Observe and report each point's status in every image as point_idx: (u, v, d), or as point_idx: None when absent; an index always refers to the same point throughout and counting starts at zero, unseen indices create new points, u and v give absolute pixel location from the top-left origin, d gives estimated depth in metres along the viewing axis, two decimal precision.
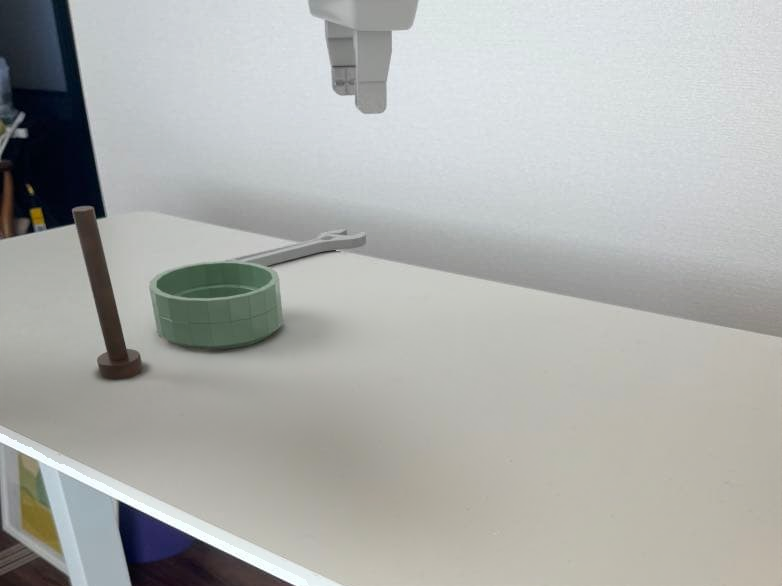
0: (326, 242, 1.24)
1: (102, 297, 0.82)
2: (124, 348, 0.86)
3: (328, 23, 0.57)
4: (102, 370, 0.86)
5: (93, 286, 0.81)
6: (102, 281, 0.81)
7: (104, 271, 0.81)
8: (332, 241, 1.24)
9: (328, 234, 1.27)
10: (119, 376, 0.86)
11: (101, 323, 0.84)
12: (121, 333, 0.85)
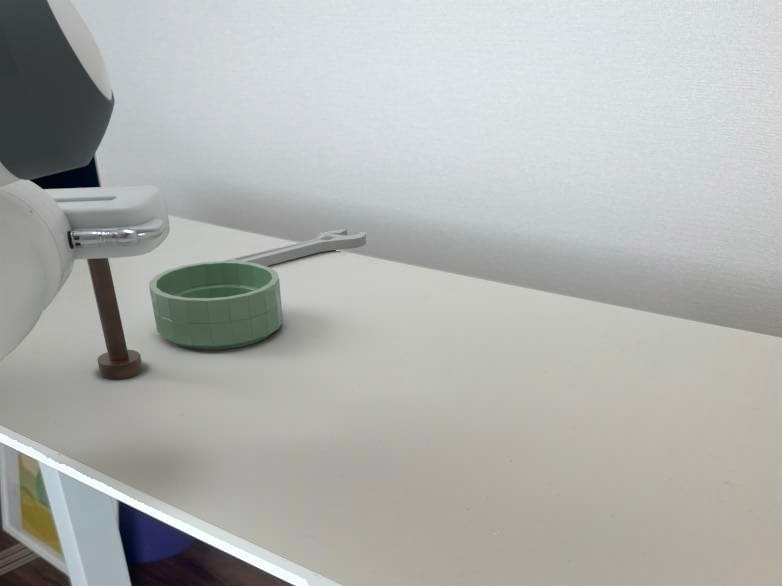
0: (326, 242, 1.24)
1: (104, 297, 0.82)
2: (125, 348, 0.86)
3: None
4: (102, 370, 0.86)
5: (95, 286, 0.82)
6: (104, 281, 0.81)
7: (107, 271, 0.81)
8: (332, 241, 1.24)
9: (328, 234, 1.27)
10: (119, 376, 0.86)
11: (102, 323, 0.84)
12: (122, 333, 0.85)
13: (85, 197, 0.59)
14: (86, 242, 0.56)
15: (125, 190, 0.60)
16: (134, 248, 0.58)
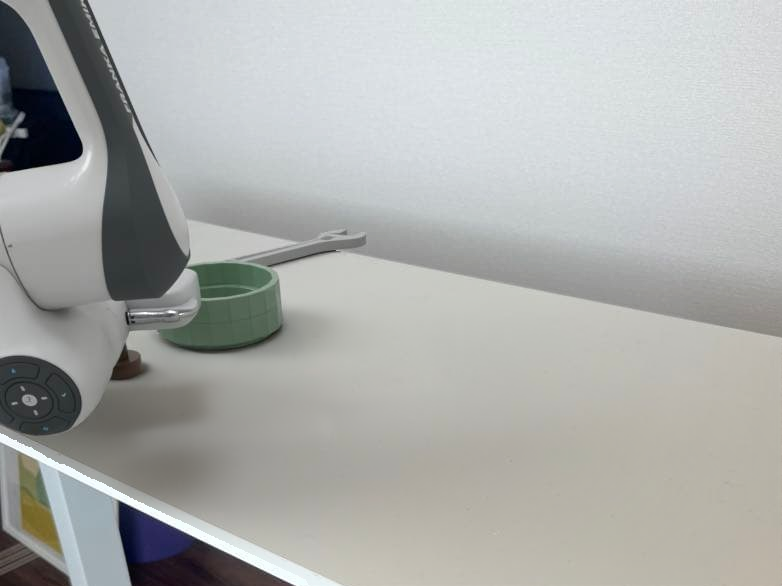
0: (326, 242, 1.24)
1: None
2: (125, 348, 0.86)
3: None
4: None
5: None
6: None
7: None
8: (332, 241, 1.24)
9: (328, 234, 1.27)
10: (119, 376, 0.86)
11: None
12: None
13: None
14: (139, 320, 0.72)
15: None
16: (175, 323, 0.74)
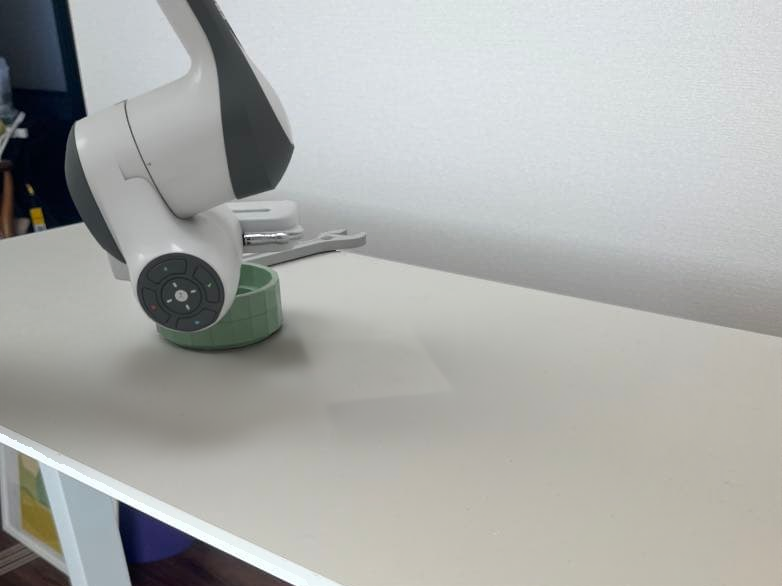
0: (326, 242, 1.24)
1: None
2: None
3: None
4: None
5: None
6: None
7: None
8: (332, 241, 1.24)
9: (328, 234, 1.27)
10: None
11: None
12: None
13: (247, 209, 0.83)
14: (254, 241, 0.80)
15: (273, 204, 0.85)
16: (283, 246, 0.82)
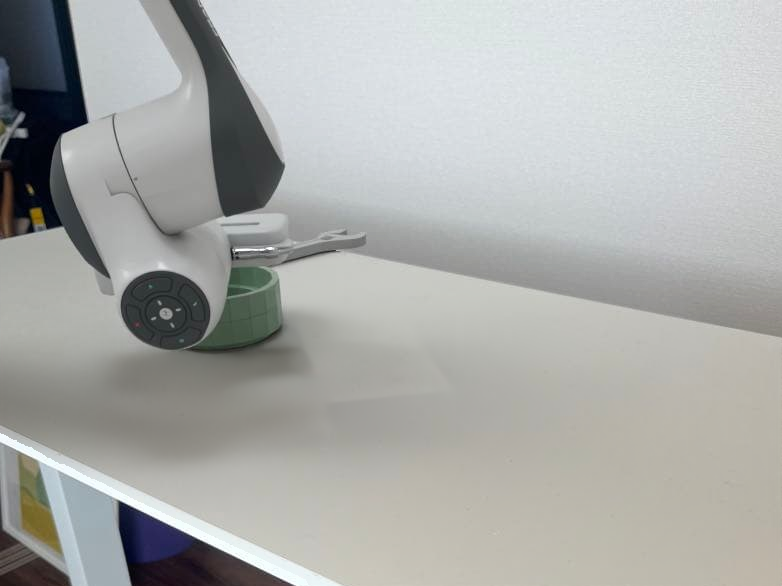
0: (326, 242, 1.24)
1: None
2: None
3: None
4: None
5: None
6: None
7: None
8: (332, 241, 1.24)
9: (328, 234, 1.27)
10: None
11: None
12: None
13: (236, 223, 0.82)
14: (243, 256, 0.79)
15: (263, 217, 0.84)
16: (273, 260, 0.81)
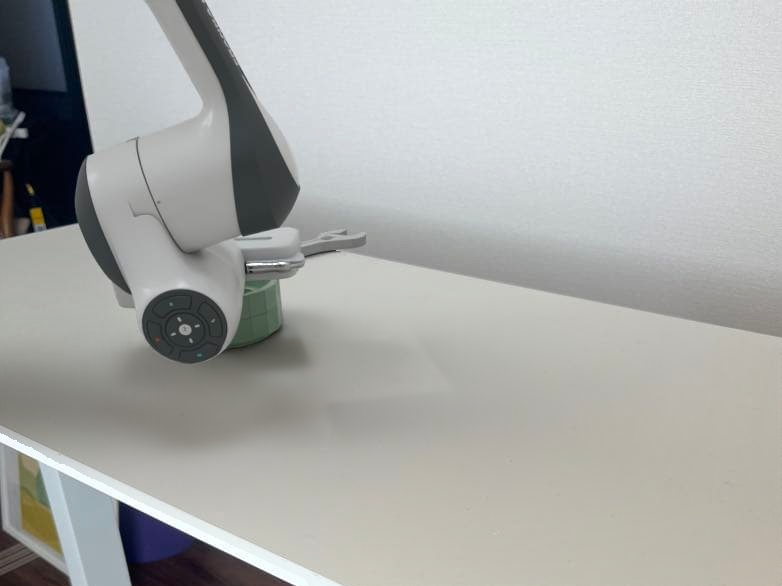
0: (326, 242, 1.24)
1: None
2: None
3: None
4: None
5: None
6: None
7: None
8: (332, 241, 1.24)
9: (328, 234, 1.27)
10: None
11: None
12: None
13: (249, 237, 0.85)
14: (256, 270, 0.82)
15: (274, 231, 0.86)
16: (285, 273, 0.84)
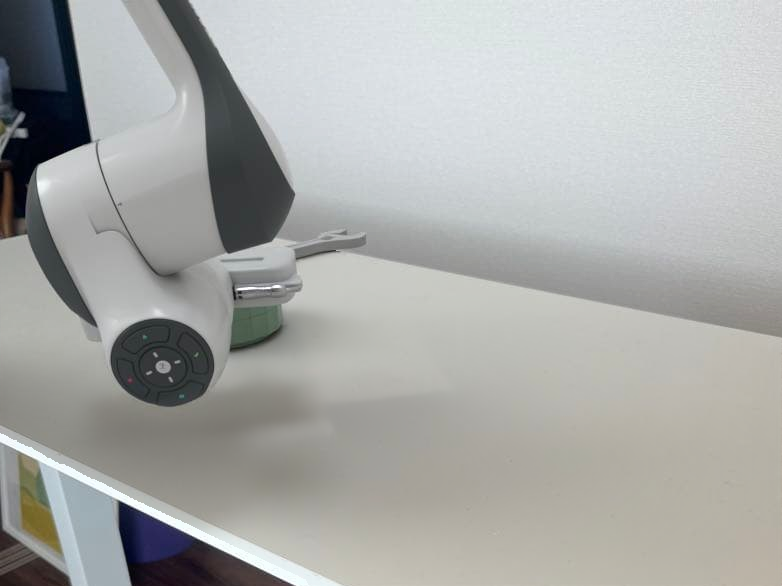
0: (326, 242, 1.24)
1: None
2: None
3: None
4: None
5: None
6: None
7: None
8: (332, 241, 1.24)
9: (328, 234, 1.27)
10: None
11: None
12: None
13: (238, 258, 0.74)
14: (246, 295, 0.70)
15: (266, 251, 0.75)
16: (279, 299, 0.73)
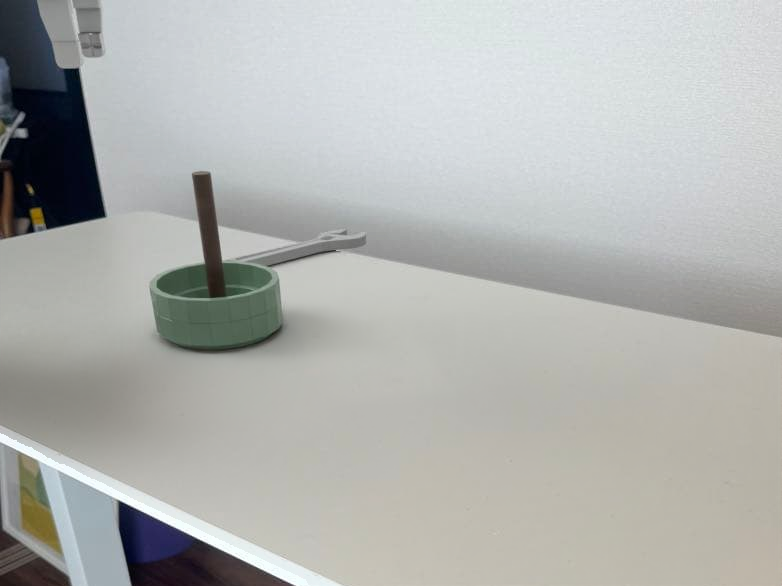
0: (326, 242, 1.24)
1: (212, 254, 0.92)
2: None
3: None
4: None
5: (204, 244, 0.91)
6: (213, 240, 0.91)
7: (216, 230, 0.91)
8: (332, 241, 1.24)
9: (328, 234, 1.27)
10: None
11: (208, 278, 0.93)
12: (225, 288, 0.95)
13: None
14: None
15: None
16: None
